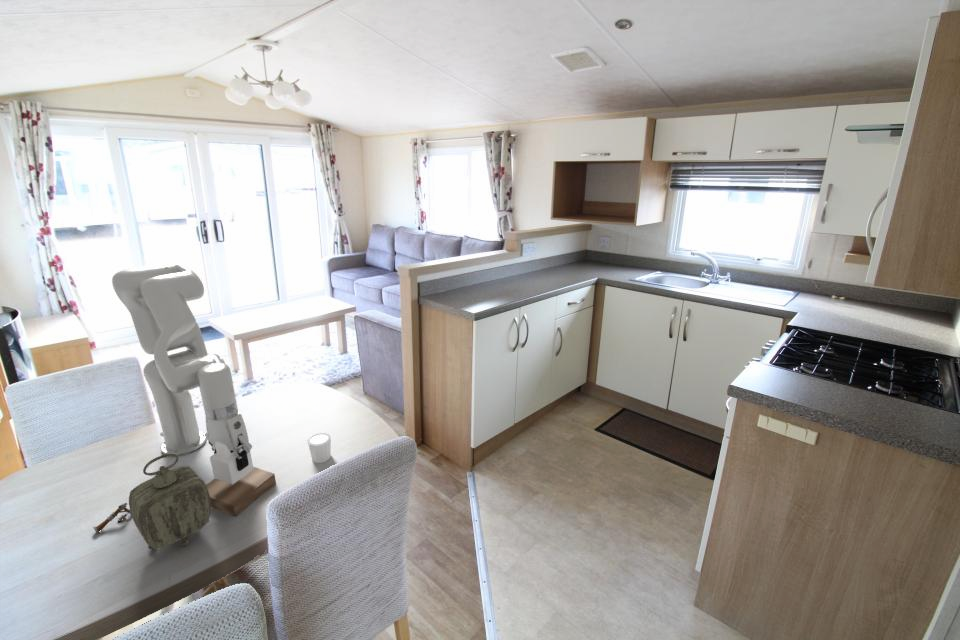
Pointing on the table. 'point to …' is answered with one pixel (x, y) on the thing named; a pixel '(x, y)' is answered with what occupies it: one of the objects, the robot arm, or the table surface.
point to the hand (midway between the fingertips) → (232, 464)
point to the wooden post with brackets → (112, 516)
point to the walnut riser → (240, 491)
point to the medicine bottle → (228, 464)
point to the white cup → (320, 447)
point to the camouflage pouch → (169, 505)
